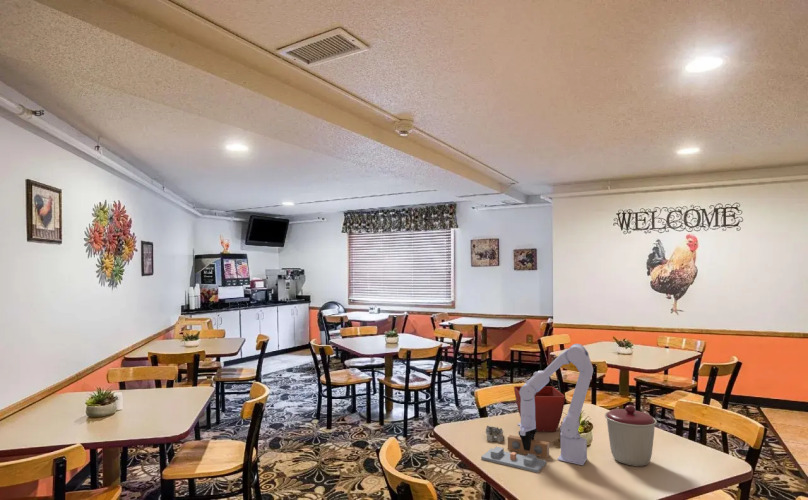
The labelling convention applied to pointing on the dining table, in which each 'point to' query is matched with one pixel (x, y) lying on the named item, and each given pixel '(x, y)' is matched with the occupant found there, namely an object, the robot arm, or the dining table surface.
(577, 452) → the robot arm
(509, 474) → the dining table surface
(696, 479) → the dining table surface
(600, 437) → the dining table surface
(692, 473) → the dining table surface
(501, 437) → the stone castle ruin
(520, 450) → the brown bar
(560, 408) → the plant pot
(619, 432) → the canister
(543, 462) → the display stand
